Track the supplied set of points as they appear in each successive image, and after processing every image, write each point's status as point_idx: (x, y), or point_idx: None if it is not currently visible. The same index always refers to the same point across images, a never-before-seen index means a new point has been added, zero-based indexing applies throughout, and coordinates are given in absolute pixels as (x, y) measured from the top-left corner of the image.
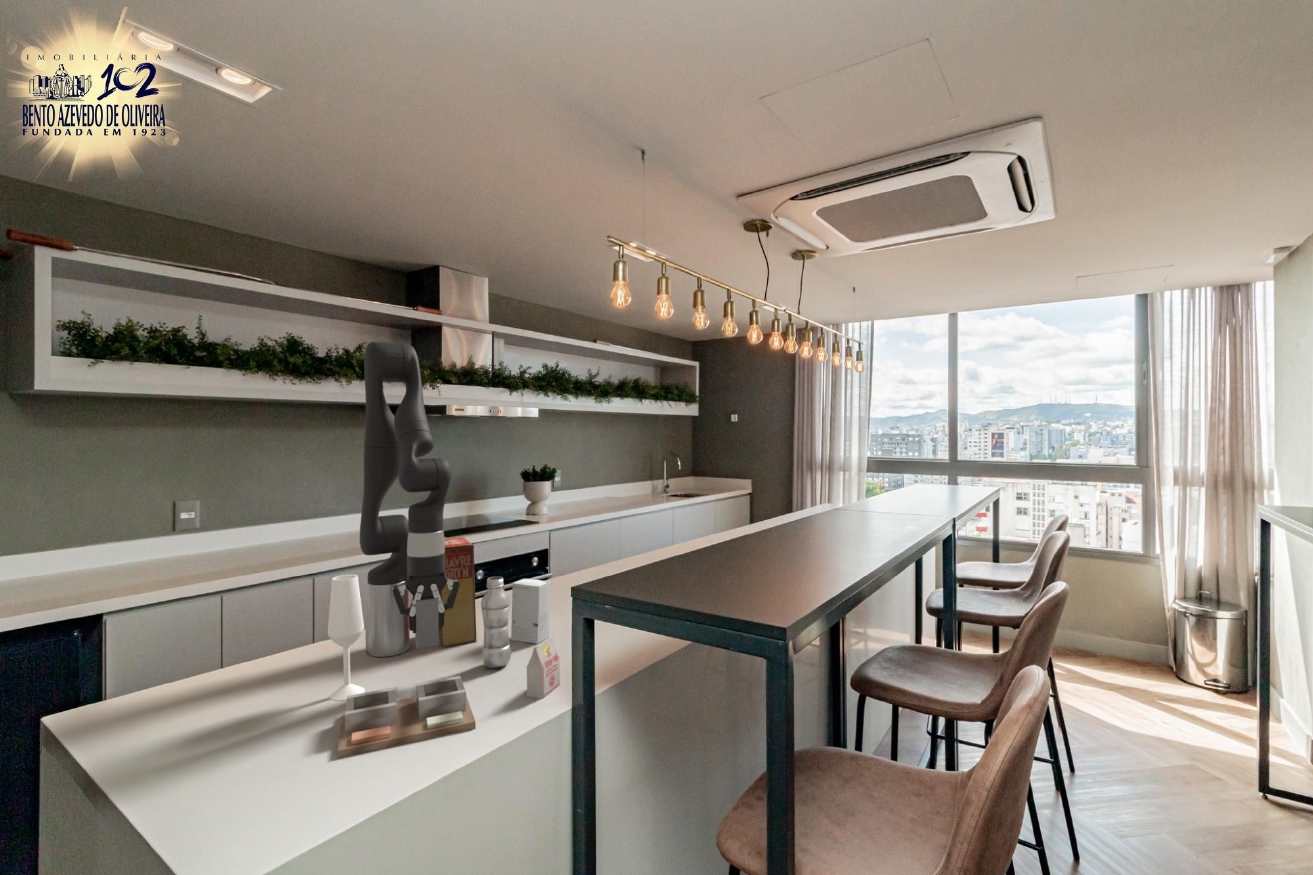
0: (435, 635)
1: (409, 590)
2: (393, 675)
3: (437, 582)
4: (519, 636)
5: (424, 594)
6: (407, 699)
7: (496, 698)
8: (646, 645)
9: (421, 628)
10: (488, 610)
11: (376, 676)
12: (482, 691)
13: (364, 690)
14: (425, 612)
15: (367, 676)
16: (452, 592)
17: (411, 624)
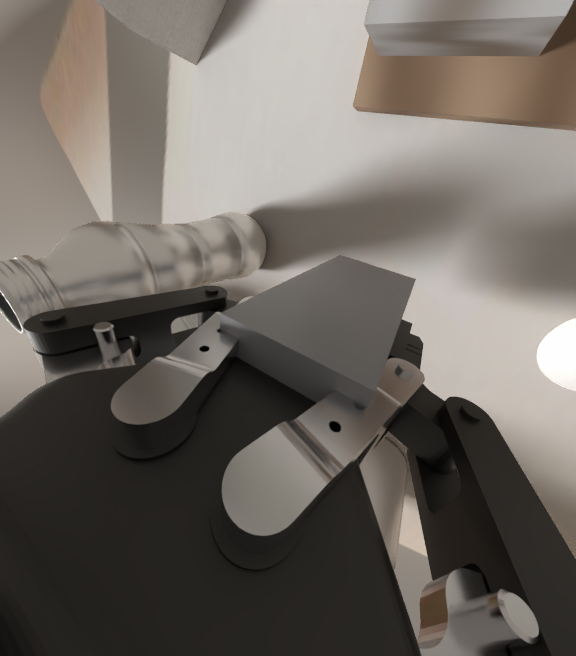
0: (337, 265)
1: (392, 570)
2: (428, 358)
3: (101, 420)
4: (196, 318)
5: (276, 411)
6: (548, 106)
7: (304, 3)
8: (70, 155)
9: (382, 295)
10: (141, 243)
11: (461, 384)
12: (315, 96)
13: (552, 332)
14: (338, 315)
15: (476, 400)
16: (133, 313)
17: (411, 349)
